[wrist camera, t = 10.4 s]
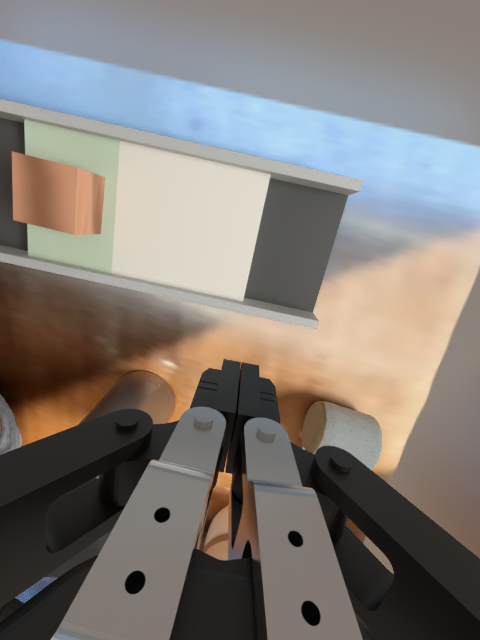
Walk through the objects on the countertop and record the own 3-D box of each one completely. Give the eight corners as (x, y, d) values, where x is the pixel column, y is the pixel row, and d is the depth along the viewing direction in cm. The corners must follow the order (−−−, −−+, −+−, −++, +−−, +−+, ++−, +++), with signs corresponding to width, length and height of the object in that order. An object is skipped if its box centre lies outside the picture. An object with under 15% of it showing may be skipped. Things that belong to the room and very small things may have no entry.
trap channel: (349, 186, 32) (362, 180, 28) (309, 318, 37) (316, 329, 33) (-40, 98, 31) (-82, 80, 27) (-27, 246, 36) (-61, 248, 32)
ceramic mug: (314, 387, 40) (327, 424, 33) (368, 404, 40) (393, 444, 33) (287, 444, 43) (293, 488, 36) (337, 459, 44) (353, 506, 36)
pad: (130, 147, 32) (119, 140, 29) (120, 270, 36) (111, 273, 34) (41, 127, 31) (24, 119, 29) (43, 253, 36) (28, 255, 33)
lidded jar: (279, 531, 49) (284, 599, 40) (220, 541, 50) (212, 608, 41) (262, 485, 46) (264, 547, 37) (200, 496, 47) (188, 559, 38)
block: (105, 177, 30) (77, 167, 26) (100, 234, 32) (74, 234, 27) (50, 163, 30) (11, 151, 25) (48, 221, 32) (13, 220, 27)
